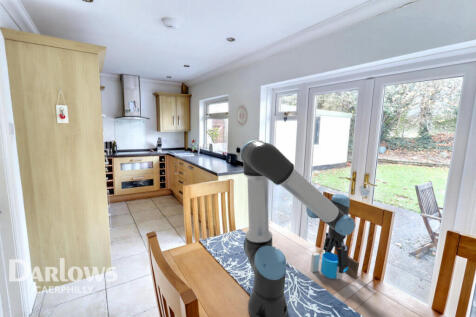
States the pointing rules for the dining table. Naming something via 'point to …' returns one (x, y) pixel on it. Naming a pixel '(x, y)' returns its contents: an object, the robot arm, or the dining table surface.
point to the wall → (315, 262)
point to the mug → (330, 265)
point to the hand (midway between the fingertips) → (333, 271)
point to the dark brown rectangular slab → (352, 267)
